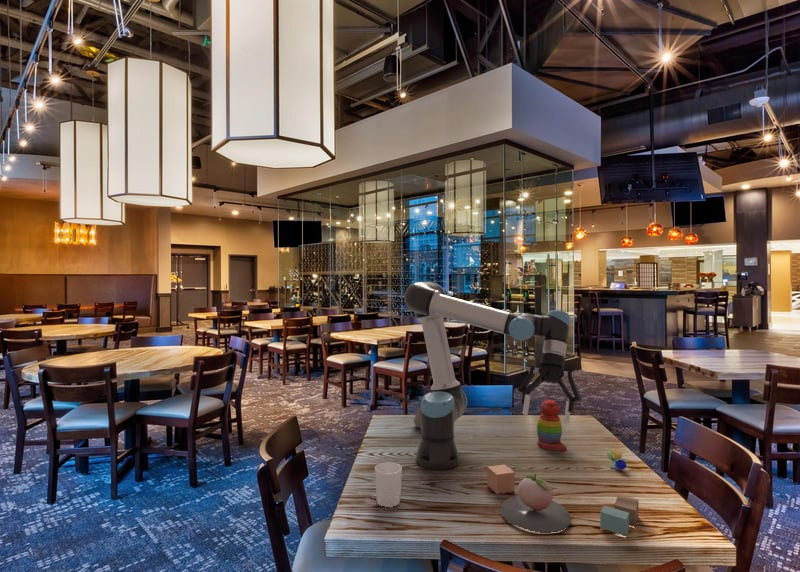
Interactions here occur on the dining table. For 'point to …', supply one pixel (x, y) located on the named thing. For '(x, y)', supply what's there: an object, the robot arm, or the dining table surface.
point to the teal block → (614, 520)
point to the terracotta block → (500, 479)
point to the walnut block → (628, 507)
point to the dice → (614, 456)
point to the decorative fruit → (535, 492)
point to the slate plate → (535, 516)
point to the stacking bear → (550, 427)
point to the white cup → (388, 483)
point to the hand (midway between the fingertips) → (545, 418)
